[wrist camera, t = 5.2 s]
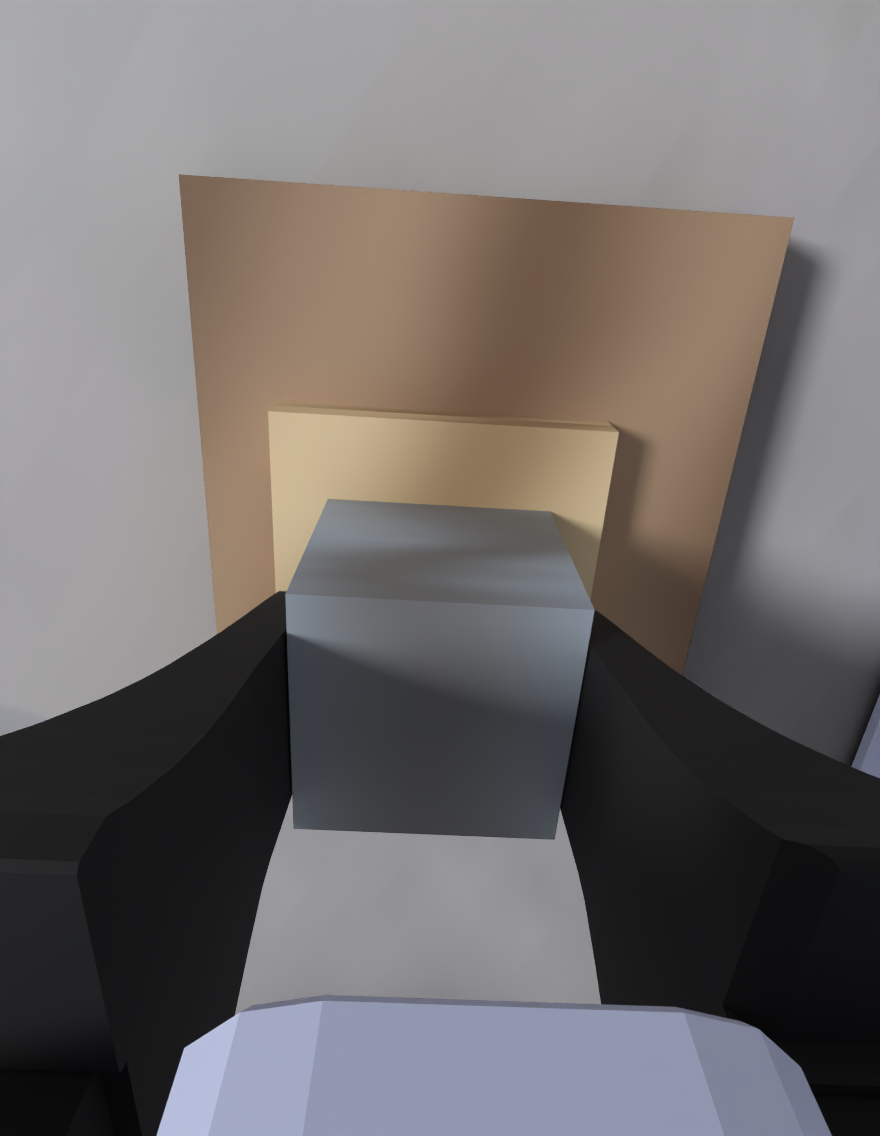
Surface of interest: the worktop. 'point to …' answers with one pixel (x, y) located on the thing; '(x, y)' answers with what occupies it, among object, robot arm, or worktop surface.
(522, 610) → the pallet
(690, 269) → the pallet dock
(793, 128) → the worktop surface
